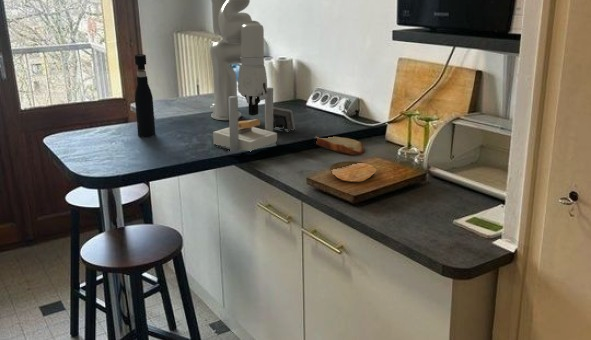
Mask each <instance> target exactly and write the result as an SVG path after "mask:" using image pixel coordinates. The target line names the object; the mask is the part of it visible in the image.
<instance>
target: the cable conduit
mask: <svg viewBox="0 0 591 340" xmlns="http://www.w3.org/2000/svg"><path fill="white" fill-rule="evenodd" d="M238 100H239V99H238V96H237V97H236V96H230V97H229V120H228V122H229V123H228V124H229V129H230V151H238V150H239V134H238V122H239V118H238V112H239V101H238Z"/></svg>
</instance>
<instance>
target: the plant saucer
mask: <svg viewBox="0 0 591 340" xmlns="http://www.w3.org/2000/svg"><path fill="white" fill-rule="evenodd" d="M357 163H365V162H362V161H357V160H356V161H355V160H354V161H353V160H345V161H344V160H343V161H338V162H335V163H332V164H331V165H330V166H329V168H328V169H329V172H330V171H331V170H333V169H337V168H342V167H346V166H349V165H352V164H357Z"/></svg>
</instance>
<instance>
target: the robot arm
mask: <svg viewBox="0 0 591 340" xmlns="http://www.w3.org/2000/svg"><path fill="white" fill-rule="evenodd" d="M210 1H211V14H212V15H211V16H212V30H213V34H214V35H215V37H219V38H222V40H218V41H215V42H213V43H212V44H211V45H210V48H209V49H210V50H209V52H210V58H211V63H212V71H213V75H212V76H213V78H212V79H213V95H214V96H213V99H214V100H213V101H214V103H212V104H211V105H210V106H209V110H212V113H211V114H210V115H211V118H212V119H214V120H218V121H229V97H230V96H236V97H238V93H239V94H240V96H242V97H243V98H245V99H246V103H247V104H248V115H249V116H256V115H258V114H259V104H260V103H261V101H265V99H266V94H267V88H268V76H267V71H266V66H265V51H264V50H265V41H264V40H265V37H264V36H265V33H264V31H265V30H264V26H263V25H262V24H261V23H260V22H259V21H258V20H253V19H252V17H251V15H250V14H249V13H247V12H242V11H244V10H245V9H247V7H249V5H250V2H251V0H210ZM239 64H240V65H239ZM231 65H239V69H238V73H236V71H235V70H234V69H233V68H232V67H231ZM237 75H238V76H237ZM241 117H242V113H241V112H240V111H238V119H240V118H241Z"/></svg>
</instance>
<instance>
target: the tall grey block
mask: <svg viewBox="0 0 591 340" xmlns="http://www.w3.org/2000/svg"><path fill="white" fill-rule="evenodd" d="M273 107H274V88H273V87H270V86H269V87H268V86H267V94H266V99H265V100H264V130H267V131H271V132H274V130H273Z"/></svg>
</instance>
